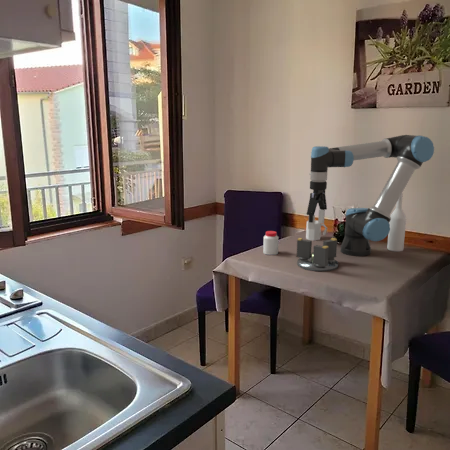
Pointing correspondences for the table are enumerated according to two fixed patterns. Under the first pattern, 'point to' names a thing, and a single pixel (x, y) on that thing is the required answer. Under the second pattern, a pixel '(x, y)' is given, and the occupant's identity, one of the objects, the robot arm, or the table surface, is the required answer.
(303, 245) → the knob
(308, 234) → the mug
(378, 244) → the table surface
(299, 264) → the plate
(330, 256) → the knob
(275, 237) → the pill bottle
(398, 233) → the bottle
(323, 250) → the leg
